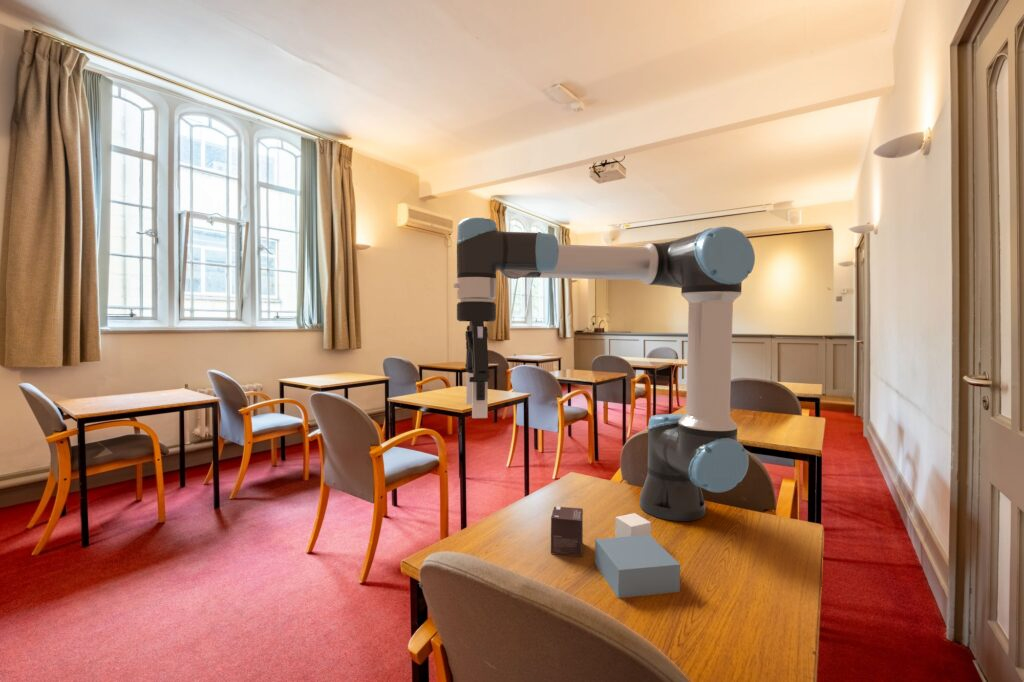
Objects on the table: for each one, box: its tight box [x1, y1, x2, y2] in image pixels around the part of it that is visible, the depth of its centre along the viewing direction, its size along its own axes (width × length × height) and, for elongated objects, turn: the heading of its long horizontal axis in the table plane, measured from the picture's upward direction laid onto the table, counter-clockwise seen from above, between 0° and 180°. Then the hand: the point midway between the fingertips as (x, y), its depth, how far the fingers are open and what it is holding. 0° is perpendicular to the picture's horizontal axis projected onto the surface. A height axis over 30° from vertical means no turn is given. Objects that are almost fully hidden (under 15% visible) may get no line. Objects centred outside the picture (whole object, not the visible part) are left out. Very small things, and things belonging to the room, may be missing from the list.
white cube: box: [614, 512, 652, 538], centre depth 96 cm, size 5×5×5 cm
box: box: [550, 506, 584, 557], centre depth 93 cm, size 6×6×7 cm
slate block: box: [594, 535, 681, 599], centre depth 83 cm, size 11×11×5 cm
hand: (476, 410), depth 91 cm, fingers open, 13 cm apart
